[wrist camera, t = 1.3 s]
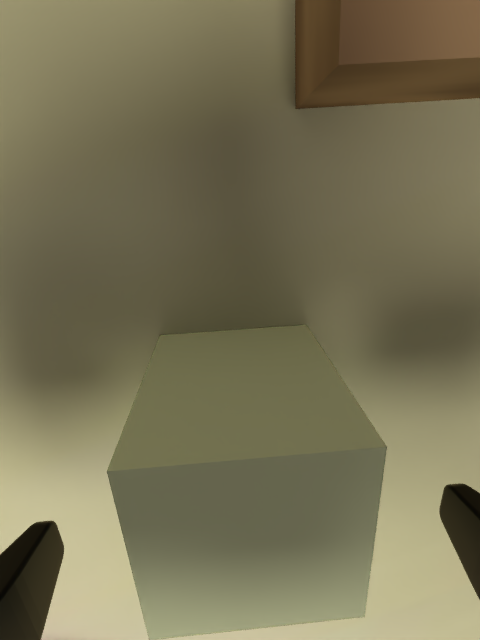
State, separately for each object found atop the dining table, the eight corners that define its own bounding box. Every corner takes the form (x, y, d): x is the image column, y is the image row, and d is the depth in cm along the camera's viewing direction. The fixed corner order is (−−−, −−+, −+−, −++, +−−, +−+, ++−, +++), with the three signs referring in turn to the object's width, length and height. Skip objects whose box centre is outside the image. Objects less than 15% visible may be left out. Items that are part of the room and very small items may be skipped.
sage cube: (306, 324, 12) (386, 446, 6) (303, 440, 14) (364, 616, 8) (160, 334, 12) (106, 471, 6) (177, 451, 13) (149, 640, 8)
